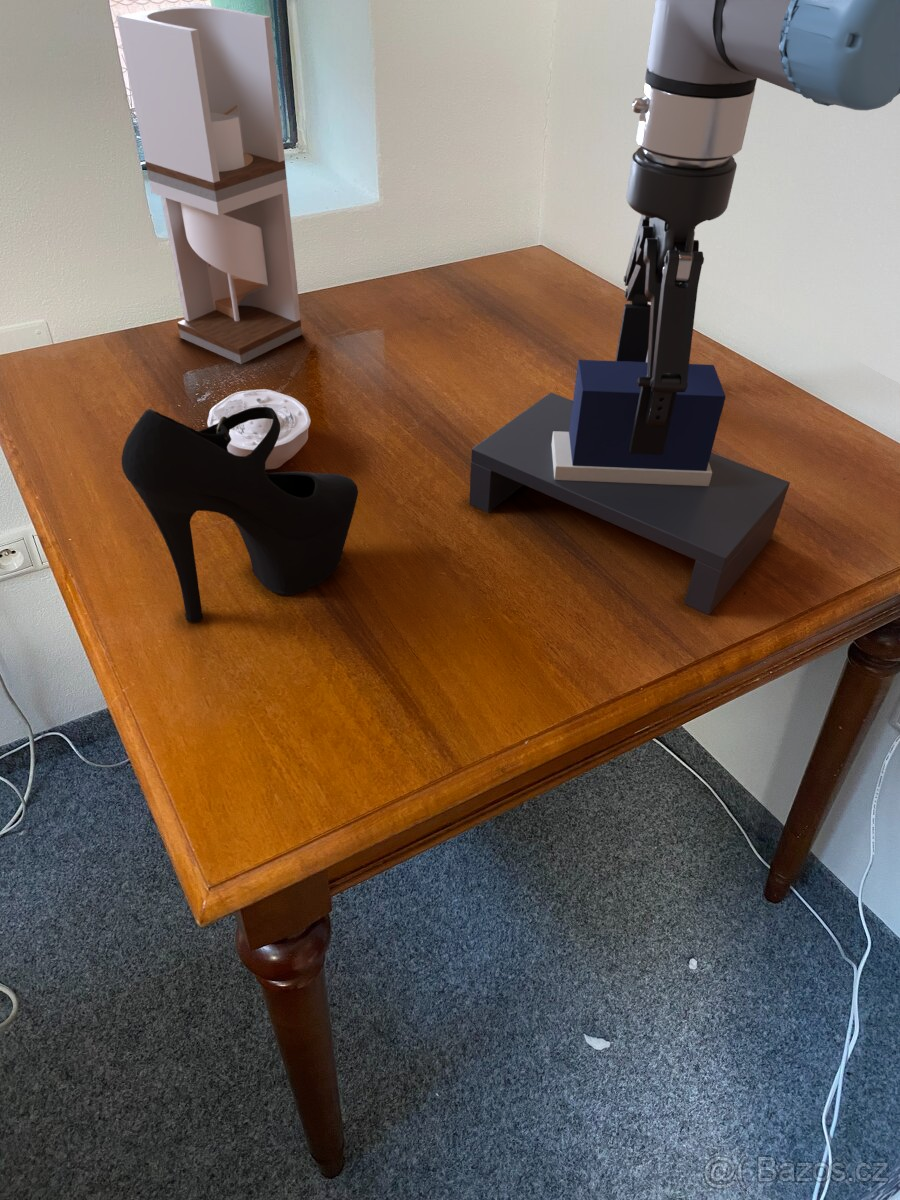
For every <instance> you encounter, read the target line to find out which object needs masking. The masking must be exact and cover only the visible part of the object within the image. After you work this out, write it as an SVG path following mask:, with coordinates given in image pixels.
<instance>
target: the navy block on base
mask: <svg viewBox="0 0 900 1200" xmlns="http://www.w3.org/2000/svg"><path fill="white" fill-rule="evenodd" d="M647 363H648V362H626V361H615V360H598V359H597V360H595V359H578V360H577V366H576V367H577V368H576V375H575V382H574V391H573V398H572V401H573V405H572V413H571V421H570V428H569V432H560V431H553V435H552V444H551V445H552V457H553V470H554V480H568V481H592V482H617V483H641V484H666V485H690V486H709V483H710V480H711V476H712V470H711V467H710V464H709V459H710V455H711V453H712V451H713V447H714V443H715V440H716V435H717V432H718V427H719V424H720V420H721V416H722V412H723V408H724V405H725V400H726V394H725V390H724V388H723V385H722V383H721V380H720V377H719V375H718V372H717V370H716V367H715V365H714V364H705V363H704V364H702V363H689V370H688V378H687V381H688V386H687V389H686V391H685V392H677V394H676V398H675V403H674V407H673V411H672V416H671V420H670V425H669V429H668V434H667V438H666V443H665V447H664V452H663V455H647V454H630V450H629V447H630V442H631V437H632V431H633V426H634V421H635V416H636V410H637V405H638V400H639V395H640V389H641V387H640V386H637V380H638V378H640V377H646V376H647Z"/></svg>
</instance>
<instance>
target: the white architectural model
mask: <svg viewBox="0 0 900 1200" xmlns="http://www.w3.org/2000/svg"><path fill="white" fill-rule="evenodd" d="M116 21H117V25H118V32H119V36H120V41H121V46H122V51H123V56H124V61H125V66H126V72H127V77H128V81H129V87H130V91H131V97H132V101H133V106H134V111H135V116H136V122H137V127H138V132H139V136H140V142H141V146H142V147H141V148H142V151H143V158H144V162H145V167H146V172H147V178H148V182H149V187H150V192H151V194H153V195H157V196H159V197H160V200H161V205H162V210H163V215H164V220H165V225H166V232H167V237H168V241H169V246H170V251H171V257H172V263H173V267H174V268H173V269H174V272H175V273H174V274H175V278H176V283H177V289H178V294H179V298H180V304H181V308H182V314H183V319H181V320H179V321H177V328H178V333H179V338H180V339H183V340H185V341H187V342H189V343H191V344H194V345H196V346H198V347H201V348H204V349H205V350H208V351H210V352H213V353H215V354H216V355H219V356H222V357H224V358H226V359H228V360H230V361H233V362H235V363H238V364H240V365H243V364H245V363H247V362H249V361H251V360H253V359H255V358H257V357H259V356H261V355H263V354H265V353H267V352H269V351H271V350H274V349H276V348H277V347H279V346H282V345H284V344H285V343H288V342H290V341H292V340H294V339H296V338H298V337H300V336H302V335H303V331H302V329H303V328H302V320H301V319H302V318H301V310H300V301H299V290H298V289H299V288H298V280H297V279H298V278H297V270H296V260H295V259H296V258H295V251H294V241H293V240H294V239H293V229H292V219H291V210H290V209H291V208H290V199H289V188H288V178H287V168H286V167H287V166H286V159H285V148H284V138H283V129H282V118H281V117H282V116H281V108H280V100H279V99H280V97H279V90H278V89H279V88H278V86H279V85H278V78H277V77H278V76H277V68H276V58H275V56H276V55H275V46H274V37H273V29H272V28H273V27H272V18H271V16H270V15H269V16H268V15H263V14H258V13H252V12H247V11H243V10H241V11H240V10H237V9H231V8H230V9H229V8H224V7H220V6H213V5H209V4H203V3H190V4H184V5H178V6H177V5H176V6H172V7H165V8H158V9H152V10H145V11H139V12H131V13H125V14H119V15H116Z"/></svg>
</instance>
